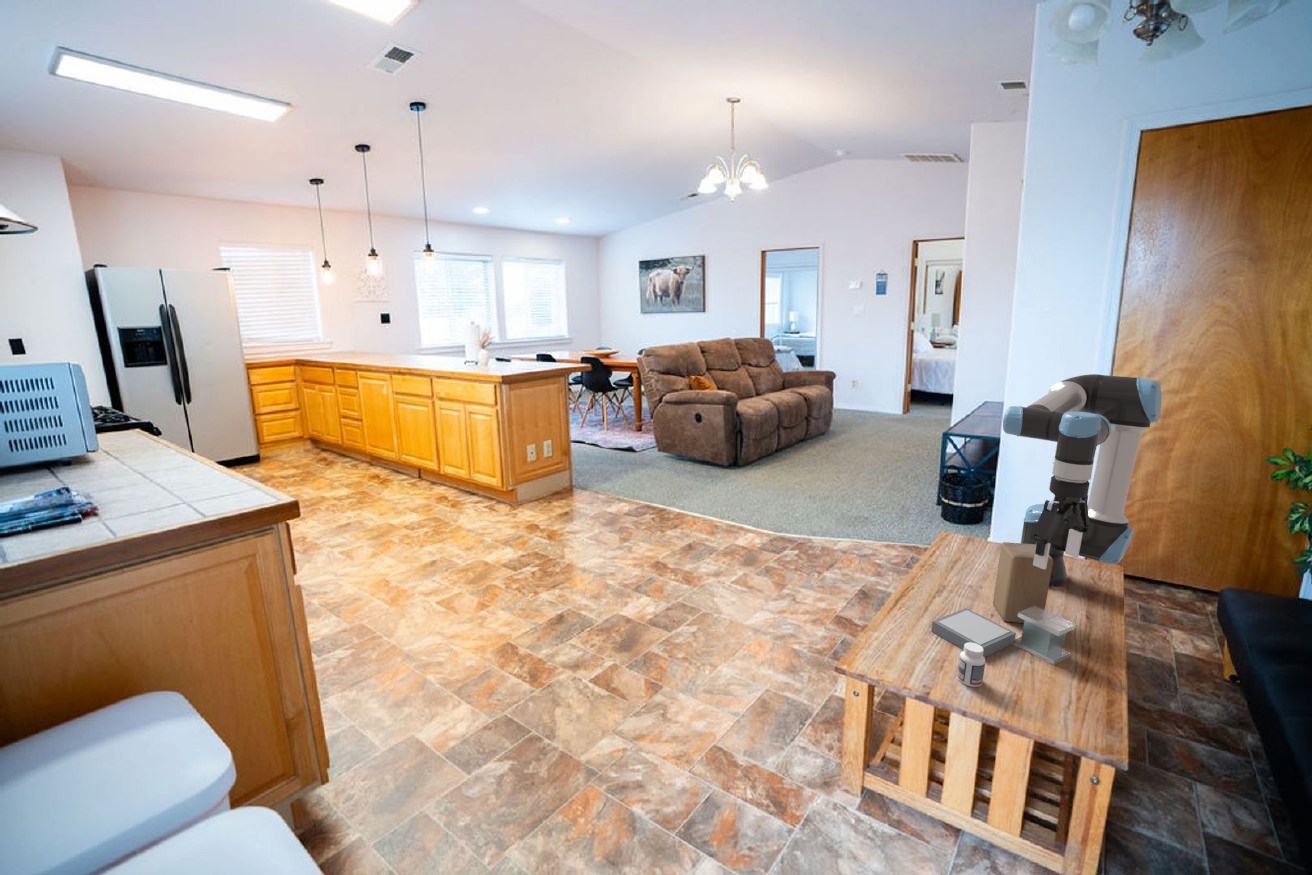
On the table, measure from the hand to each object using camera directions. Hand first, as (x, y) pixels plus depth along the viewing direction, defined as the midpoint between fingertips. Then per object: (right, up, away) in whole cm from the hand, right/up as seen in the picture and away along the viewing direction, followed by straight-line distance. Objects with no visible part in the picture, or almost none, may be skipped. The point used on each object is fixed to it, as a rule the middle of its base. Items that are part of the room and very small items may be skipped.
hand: (1055, 561), depth 145 cm
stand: (-14, -23, +12) cm, 29 cm away
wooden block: (+4, -20, +23) cm, 30 cm away
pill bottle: (-24, -27, -5) cm, 36 cm away
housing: (+1, -24, +6) cm, 25 cm away
